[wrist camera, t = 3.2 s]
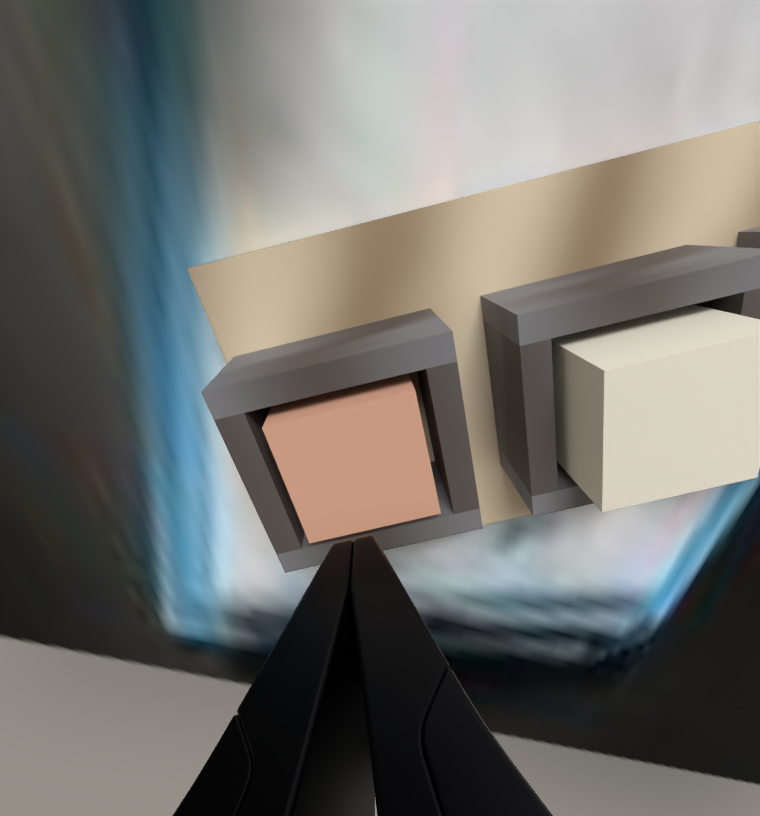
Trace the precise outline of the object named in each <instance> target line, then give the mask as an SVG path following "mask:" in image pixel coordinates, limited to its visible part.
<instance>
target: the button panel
mask: <svg viewBox="0 0 760 816" xmlns="http://www.w3.org/2000/svg"><path fill="white" fill-rule="evenodd" d="M187 269H188V272H189V274H190V277H191V279H192V281H193V284H194V286H195V289H196V291H197V293H198V296H199V298H200V300H201V303H202V305H203V308H204V310H205V312H206V315H207V317H208V319H209V322H210V324H211V327H212V329H213V331H214V334H215V336H216V338H217V341H218V343H219V346H220V348H221V350H222V353H223V355H224V357H225V360H226V362H227V365H226V366H225V367H224V368H223V369H222V370H221V371H220V372H219V374H218V375H217V376H216V377H215V378H214V379H213V380H212V381H211V382H210V383H209V384H208V386H207V387H206V388H205V389H204V390H203V391H202V392H201V393H202V395H203V397H204V399H205V401H206V403H207V406H208V408H209V410H210V412H211V414H212V416H213V418H214V421H215V423H216V425H217V427H218V429H219V431H220V434H221V436H222V438H223V440H224V442H225V444H226V446H227V449H228V451H229V453H230V455H231V457H232V459H233V461H234V464H235V466H236V468H237V470H238V472H239V474H240V476H241V479H242V481H243V483H244V485H245V487H246V489H247V491H248V494H249V496H250V498H251V500H252V502H253V504H254V507H255V509H256V511H257V513H258V515H259V517H260V519H261V522H262V524H263V526H264V528H265V530H266V532H267V534H268V537H269V539H270V541H271V543H272V545H273V547H274V549H275V552H276V554H277V556H278V558H279V560H280V562H281V564H282V567H283V569H284V571H285V573H286V572H290V571H295V570H299V569H304V568H308V567H313V566H317V565H321V564H322V562H323V561H324V559H325V557H326V555H327V554H328V552H329V550H330V548H331V547H332V545H333V544H334V543H336V542H340V541H345V540H349V539H351V540H353V541H354V540H355V538H358V537H362V536H366V535H373V536H374V537H375V539H376V540H377V542H378V544H379V546H380V547H381V549H382V551H384V550H388V549H392V548H397V547H401V546H406V545H410V544H415V543H419V542H424V541H428V540H432V539H437V538H441V537H446V536H450V535H455V534H459V533H463V532H468V531H472V530H477V529H481V528H483V526H482V525H487V524H491V523H495V522H500V521H504V520H509V519H513V518H518V517H522V516H527V515H531V514H532V515H533V517H534V516H539V515H543V514H548V513H552V512H557V511H561V510H566V509H570V508H574V507H579V506H583V505H588V504H592V503H593V501H592V500H591V499H590V498H589V497H588V496H587V495H586V493H585V492H584V491H583V490H582V489H581V488H580V487H579V486H578V484H577V483H576V482H575V481H574V480H573V479H572V478H571V476H570V475H569V474H568V473H567V472H566V471H565V470H564V469H563V467H562V466H561V465H560V464H559V463H558V462H557V456H556V434H555V411H554V389H553V366H552V344H551V339H552V338H556V337H560V336H564V335H568V334H573V333H577V332H581V331H585V330H589V329H593V328H597V327H601V326H606V325H610V324H614V323H618V322H622V321H626V320H630V319H635V318H639V317H643V316H647V315H651V314H655V313H659V312H664V311H668V310H672V309H676V308H680V307H684V306H688V305H697V306H702V307H706V308H711V309H715V310H720V311H724V312H729V313H733V314H738V315H742V316H747V317H751V318H756V319H760V121H759V122H755V123H751V124H747V125H743V126H739V127H736V128H732V129H728V130H724V131H720V132H716V133H712V134H708V135H704V136H701V137H697V138H693V139H689V140H685V141H681V142H677V143H673V144H669V145H666V146H662V147H658V148H654V149H650V150H646V151H642V152H638V153H634V154H631V155H627V156H623V157H619V158H615V159H611V160H607V161H603V162H599V163H596V164H592V165H588V166H584V167H580V168H576V169H572V170H568V171H564V172H561V173H557V174H553V175H549V176H545V177H541V178H537V179H533V180H529V181H526V182H522V183H518V184H514V185H510V186H506V187H502V188H498V189H494V190H491V191H487V192H483V193H479V194H475V195H471V196H467V197H463V198H459V199H456V200H452V201H448V202H444V203H440V204H436V205H432V206H428V207H424V208H421V209H417V210H413V211H409V212H405V213H401V214H397V215H393V216H389V217H386V218H382V219H378V220H374V221H370V222H366V223H362V224H358V225H354V226H351V227H347V228H343V229H339V230H335V231H331V232H327V233H323V234H319V235H316V236H312V237H308V238H304V239H300V240H296V241H292V242H288V243H284V244H281V245H277V246H273V247H269V248H265V249H261V250H257V251H253V252H249V253H246V254H242V255H238V256H234V257H230V258H226V259H222V260H218V261H214V262H211V263H207V264H203V265H199V266H195V267H191V268H187ZM407 373H409V376H410V379H411V381H412V384H413V386H414V389H415V391H416V396H417V401H418V406H419V410H420V415H421V420H422V425H423V430H424V434H425V439H426V444H427V449H428V453H429V458H430V463H431V468H432V473H433V477H434V482H435V487H436V492H437V496H438V501H439V506H440V511H441V514H437V515H433V516H428V517H424V518H419V519H415V520H411V521H406V522H402V523H397V524H393V525H389V526H384V527H380V528H375V529H371V530H367V531H362V532H358V533H353V534H349V535H345V536H340V537H336V538H331V539H327V540H323V541H318V542H314V543H310V544H309V541H308V539H307V536H306V534H305V532H304V529H303V527H302V524H301V522H300V519H299V517H298V514H297V512H296V510H295V507H294V505H293V502H292V500H291V497H290V495H289V493H288V490H287V488H286V485H285V483H284V480H283V478H282V476H281V473H280V471H279V468H278V466H277V463H276V461H275V458H274V456H273V454H272V451H271V449H270V446H269V444H268V441H267V439H266V437H265V434H264V432H263V429H262V427H263V425H264V422H265V420H266V418H267V416H268V414H269V411H270V409H271V407H272V406H275V405H279V404H283V403H287V402H291V401H295V400H299V399H304V398H308V397H312V396H316V395H320V394H324V393H328V392H333V391H337V390H341V389H345V388H349V387H353V386H357V385H361V384H366V383H370V382H374V381H378V380H382V379H386V378H390V377H395V376H399V375H403V374H407Z"/></svg>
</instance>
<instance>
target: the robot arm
mask: <svg viewBox="0 0 760 816" xmlns="http://www.w3.org/2000/svg"><path fill="white" fill-rule="evenodd" d="M237 713H238V715H235V716H233V718H232V720H231V722H230V723H229V725H228V727H227V729H226V730H225V732H224V734H223V735H222V737H221V739H220V741H219V742H218V744H217V746H216V747H215V749H214V751H213V752H212V754H211V756H210V757H209V759H208V761H207V762H206V764H205V766H204V767H203V769H202V770H201V772H200V774H199V775H198V777H197V779H196V780H195V782H194V784H193V785H192V787H191V788H190V790H189V791H188V793H187V795H186V796H185V798H184V799H183V801H182V802H181V804H180V805H179V807H178V808H177V810H176V811H175V813H174V814H173V816H375V798H376V807H377V814H378V816H552V814H551V813H550V811H549V810H548V809H547V807H546V806H545V805H544V803H543V802H542V801H541V799H540V798H539V797H538V795H537V794H536V793H535V791H534V790H533V789H532V788H531V786H530V785H529V784H528V782H527V781H526V780H525V778H524V777H523V776H522V774H521V773H520V772H519V770H518V769H517V768H516V766H515V765H514V764H513V762H512V761H511V759H510V758H509V757H508V755H507V754H506V752H505V751H504V750H503V748H502V747H501V745H500V744H499V743H498V741H497V740H496V739H495V737H494V736H493V734H492V733H491V731H490V730H489V729H488V727H487V726H486V724H485V723H484V721H483V720H482V718H481V716H480V715H479V713H478V712H477V710H476V708H475V707H474V705H473V704H472V702H471V700H470V699H469V697H468V696H467V694H466V692H465V691H464V689H463V687H462V686H461V684H460V682H459V681H458V679H457V677H456V675H455V674H454V672H453V670H451V669H450V666H449V664H448V662H447V660H446V659H445V657H444V655H443V654H442V652H441V650H440V648H439V647H438V645H437V643H436V642H435V640H434V638H433V636H432V635H431V633H430V631H429V630H428V628H427V626H426V624H425V623H424V621H423V619H422V618H421V616H420V614H419V612H418V611H417V609H416V607H415V606H414V604H413V602H412V600H411V599H410V597H409V595H408V594H407V592H406V590H405V588H404V587H403V585H402V583H401V582H400V580H399V578H398V576H397V575H396V573H395V571H394V570H393V568H392V566H391V564H390V563H389V561H388V559H387V558H386V556H385V554H384V552H383V551H382V549H381V547H380V546H379V544H378V542H377V540H376V539H375V537H374V536H373V535H366V536H362V537H358V538H355V540H354V541H353V540H351V539H349V540H345V541H340V542H336V543H334V544H333V545H332V547H331V548H330V550H329V552H328V554H327V555H326V557H325V559H324V561H323V562H322V564H321V566H320V567H319V569H318V571H317V573H316V574H315V576H314V578H313V580H312V581H311V583H310V585H309V587H308V588H307V590H306V592H305V593H304V595H303V597H302V599H301V600H300V602H299V604H298V606H297V607H296V609H295V611H294V613H293V614H292V616H291V618H290V620H289V621H288V623H287V625H286V626H285V628H284V630H283V632H282V633H281V635H280V637H279V639H278V640H277V642H276V644H275V646H274V647H273V649H272V651H271V652H270V654H269V656H268V658H267V659H266V661H265V663H264V665H263V666H262V668H261V670H260V672H259V673H258V675H257V677H256V679H255V680H254V682H253V684H252V685H251V687H250V689H249V691H248V692H247V694H246V696H245V698H244V699H243V701H242V703H241V705H240V706H239V708H238V710H237Z"/></svg>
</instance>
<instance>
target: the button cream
mask: <svg viewBox="0 0 760 816" xmlns="http://www.w3.org/2000/svg"><path fill="white" fill-rule="evenodd" d="M551 344H552V366H553V389H554V411H555V434H556V456H557V462H558V463H559V464H560V465H561V466H562V467H563V469H564V470H565V471H566V472H567V473H568V474H569V475H570V476H571V478H572V479H573V480H574V481H575V482H576V483H577V484H578V486H579V487H580V488H581V489H582V490H583V491H584V492H585V493H586V495H587V496H588V497H589V498H590V499H591V500H592V501H593V503H594V504H595V505H596V506H597V507H598V508H599V509H600V511H601V512H606V511H611V510H615V509H619V508H624V507H628V506H633V505H637V504H642V503H646V502H651V501H655V500H660V499H664V498H669V497H673V496H677V495H682V494H686V493H691V492H695V491H700V490H704V489H709V488H713V487H718V486H722V485H726V484H731V483H735V482H740V481H744V480H749V479H753V478H757V477H758V473H759V468H760V319H756V318H751V317H747V316H742V315H738V314H733V313H729V312H724V311H720V310H715V309H711V308H706V307H702V306H697V305H688V306H684V307H680V308H676V309H672V310H668V311H664V312H659V313H655V314H651V315H647V316H643V317H639V318H635V319H630V320H626V321H622V322H618V323H614V324H610V325H606V326H601V327H597V328H593V329H589V330H585V331H581V332H577V333H573V334H568V335H564V336H560V337H556V338H552V339H551Z"/></svg>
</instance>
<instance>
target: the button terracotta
mask: <svg viewBox="0 0 760 816" xmlns="http://www.w3.org/2000/svg"><path fill="white" fill-rule="evenodd" d="M262 429H263V432H264V434H265V437H266V439H267V441H268V444H269V446H270V449H271V451H272V454H273V456H274V458H275V461H276V463H277V466H278V468H279V471H280V473H281V476H282V478H283V480H284V483H285V485H286V488H287V490H288V493H289V495H290V497H291V500H292V502H293V505H294V507H295V510H296V512H297V514H298V517H299V519H300V522H301V524H302V527H303V529H304V532H305V534H306V536H307V539H308V541H309V544H310V543H314V542H318V541H323V540H327V539H331V538H336V537H340V536H345V535H349V534H353V533H358V532H362V531H367V530H371V529H375V528H380V527H384V526H389V525H393V524H397V523H402V522H406V521H411V520H415V519H419V518H424V517H428V516H433V515H437V514H441V511H440V506H439V501H438V496H437V492H436V487H435V482H434V477H433V473H432V468H431V463H430V458H429V453H428V449H427V444H426V439H425V434H424V430H423V425H422V420H421V415H420V410H419V406H418V401H417V396H416V391H415V389H414V386H413V384H412V381H411V379H410V376H409V373H407V374H403V375H399V376H395V377H390V378H386V379H382V380H378V381H374V382H370V383H366V384H361V385H357V386H353V387H349V388H345V389H341V390H337V391H333V392H328V393H324V394H320V395H316V396H312V397H308V398H304V399H299V400H295V401H291V402H287V403H283V404H279V405H275V406H272V407H271V409H270V411H269V414H268V416H267V418H266V420H265V422H264V425H263V427H262Z"/></svg>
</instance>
